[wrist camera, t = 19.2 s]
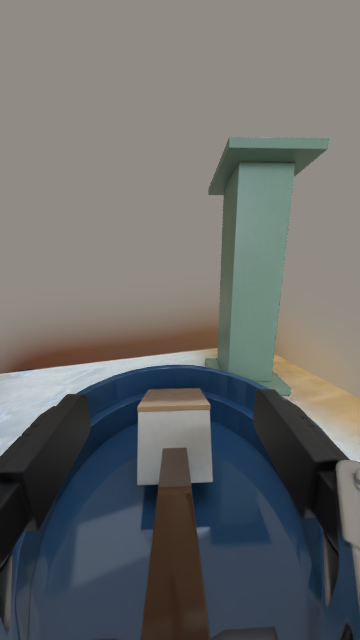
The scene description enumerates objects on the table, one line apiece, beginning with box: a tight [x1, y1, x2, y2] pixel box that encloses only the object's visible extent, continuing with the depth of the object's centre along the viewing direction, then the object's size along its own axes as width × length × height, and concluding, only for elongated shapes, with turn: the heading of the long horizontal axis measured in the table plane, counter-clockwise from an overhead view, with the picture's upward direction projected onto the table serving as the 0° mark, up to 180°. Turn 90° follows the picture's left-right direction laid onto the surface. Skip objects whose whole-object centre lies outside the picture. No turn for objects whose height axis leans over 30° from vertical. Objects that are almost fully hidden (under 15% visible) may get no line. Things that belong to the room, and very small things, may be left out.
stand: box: [205, 137, 329, 396], centre depth 30 cm, size 12×11×32 cm
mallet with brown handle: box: [137, 388, 213, 640], centre depth 12 cm, size 16×6×5 cm, turn 2°
